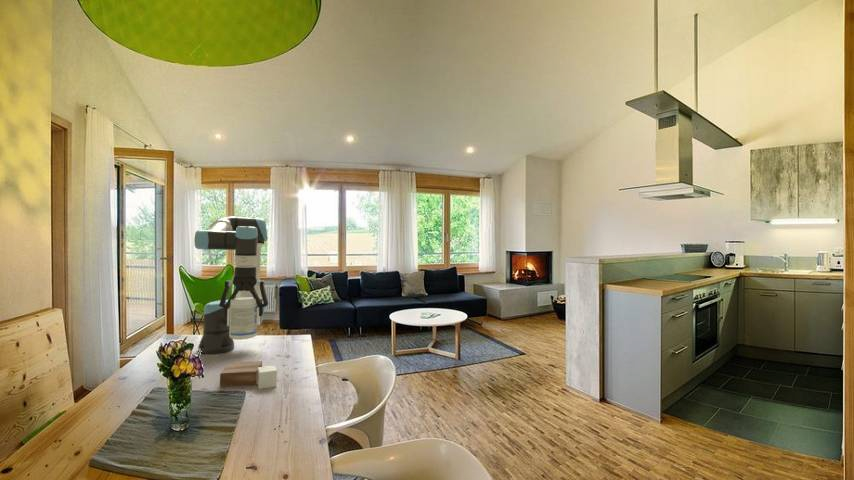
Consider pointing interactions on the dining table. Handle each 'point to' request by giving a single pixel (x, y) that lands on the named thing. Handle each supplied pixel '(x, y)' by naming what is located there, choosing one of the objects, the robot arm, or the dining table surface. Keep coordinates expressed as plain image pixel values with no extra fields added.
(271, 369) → the cream cube
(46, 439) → the dining table surface
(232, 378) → the walnut block
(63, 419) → the dining table surface
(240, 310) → the supplement tub
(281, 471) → the dining table surface
